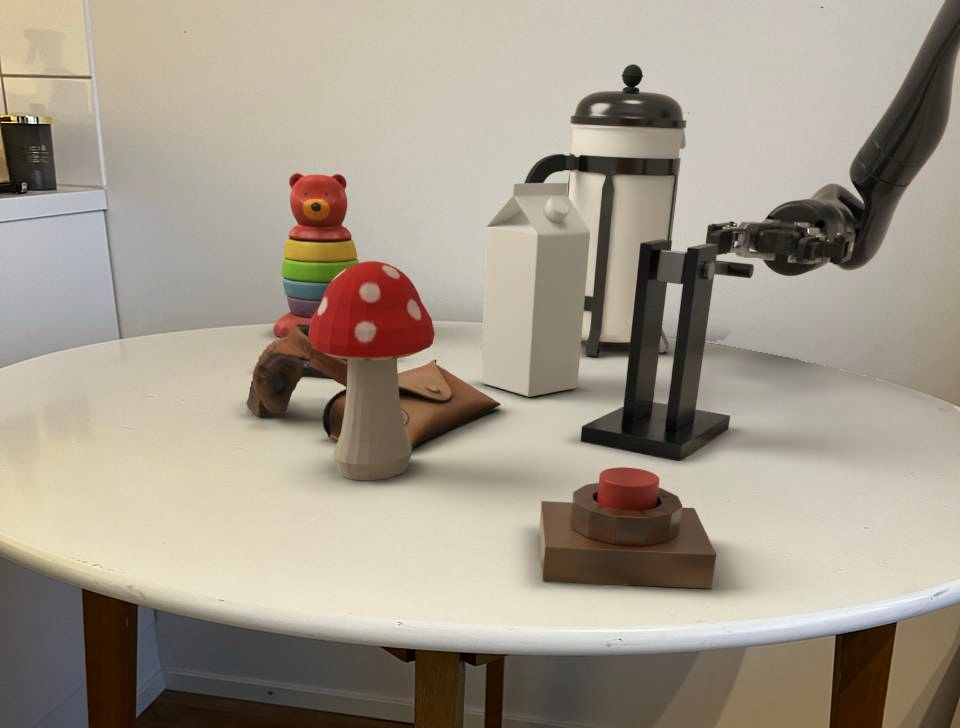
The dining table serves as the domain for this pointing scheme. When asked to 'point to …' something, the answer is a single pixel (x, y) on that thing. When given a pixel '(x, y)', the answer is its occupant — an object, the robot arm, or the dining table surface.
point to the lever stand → (640, 418)
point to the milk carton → (534, 292)
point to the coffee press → (619, 194)
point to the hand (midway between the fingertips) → (757, 247)
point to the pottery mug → (289, 371)
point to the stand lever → (674, 267)
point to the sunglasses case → (423, 404)
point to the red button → (628, 489)
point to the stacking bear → (314, 246)
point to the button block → (624, 543)
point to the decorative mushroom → (371, 362)
